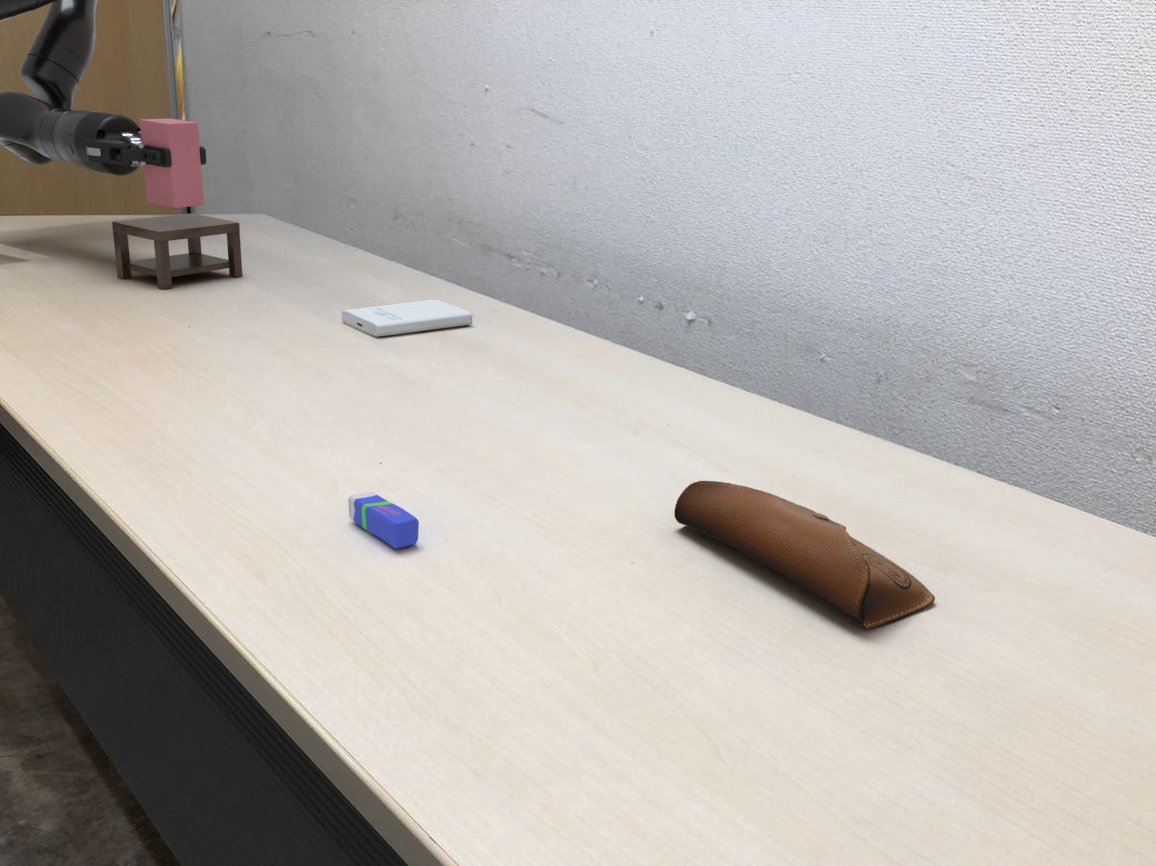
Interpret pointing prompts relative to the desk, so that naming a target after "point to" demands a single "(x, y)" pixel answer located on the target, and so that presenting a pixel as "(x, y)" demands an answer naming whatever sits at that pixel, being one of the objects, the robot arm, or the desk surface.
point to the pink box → (174, 163)
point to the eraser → (384, 519)
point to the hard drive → (406, 317)
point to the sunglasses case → (804, 550)
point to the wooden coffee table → (175, 230)
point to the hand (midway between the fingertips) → (186, 157)
